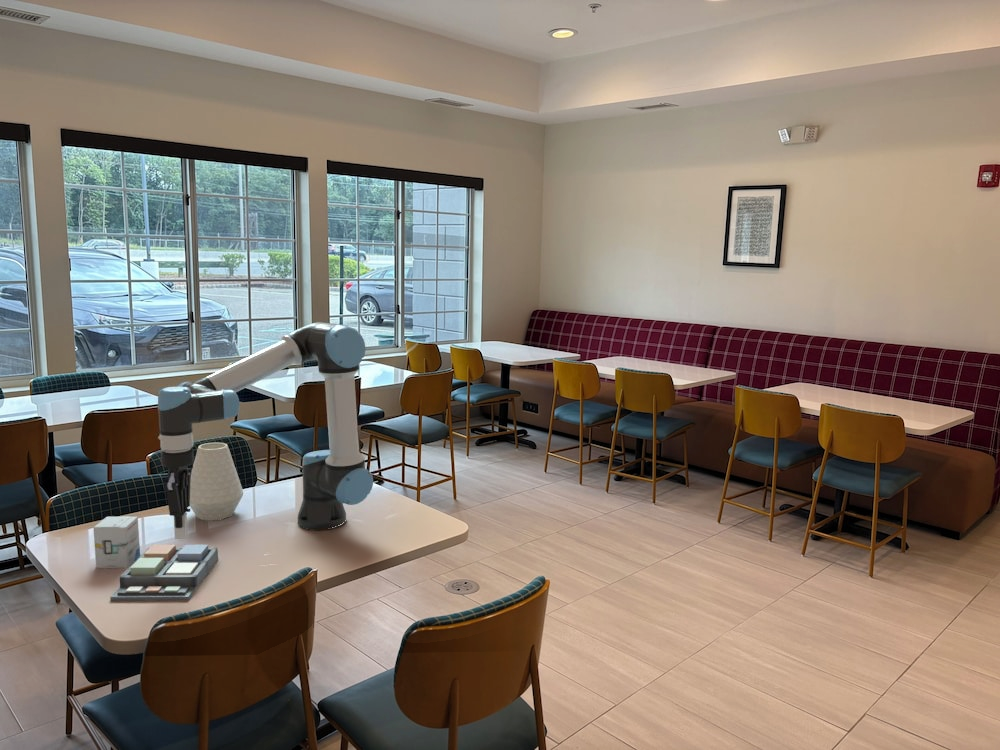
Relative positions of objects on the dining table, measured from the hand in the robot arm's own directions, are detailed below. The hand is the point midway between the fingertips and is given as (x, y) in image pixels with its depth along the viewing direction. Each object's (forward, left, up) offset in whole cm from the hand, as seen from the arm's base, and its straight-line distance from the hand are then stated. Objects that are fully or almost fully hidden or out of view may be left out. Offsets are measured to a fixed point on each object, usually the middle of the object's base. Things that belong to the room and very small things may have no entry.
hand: (181, 537), depth 186 cm
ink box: (+21, -13, -12) cm, 28 cm away
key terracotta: (+9, -8, -9) cm, 15 cm away
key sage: (+9, 0, -9) cm, 13 cm away
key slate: (0, -8, -9) cm, 13 cm away
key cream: (0, 0, -11) cm, 11 cm away
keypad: (+4, -2, -12) cm, 13 cm away
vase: (+6, -49, -12) cm, 50 cm away
